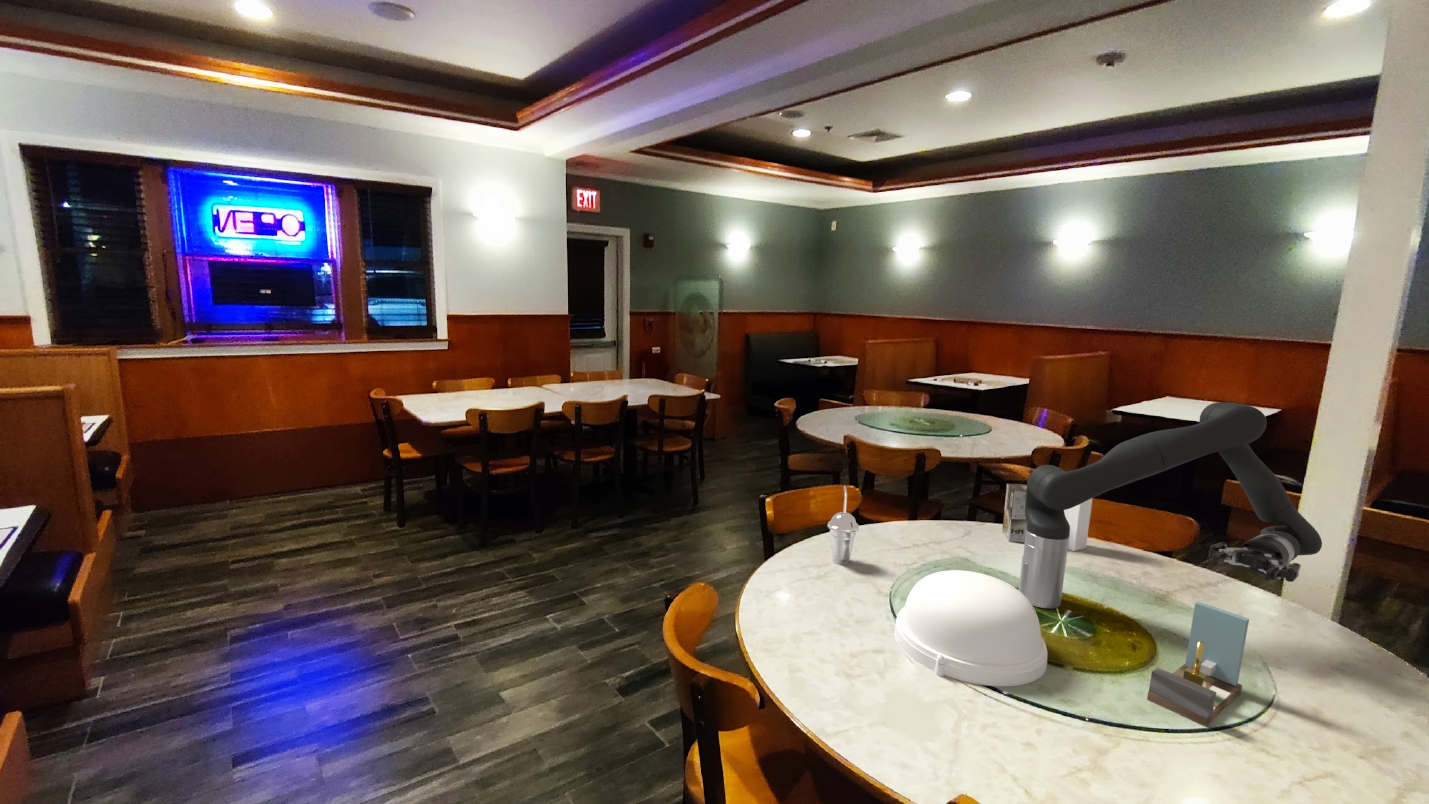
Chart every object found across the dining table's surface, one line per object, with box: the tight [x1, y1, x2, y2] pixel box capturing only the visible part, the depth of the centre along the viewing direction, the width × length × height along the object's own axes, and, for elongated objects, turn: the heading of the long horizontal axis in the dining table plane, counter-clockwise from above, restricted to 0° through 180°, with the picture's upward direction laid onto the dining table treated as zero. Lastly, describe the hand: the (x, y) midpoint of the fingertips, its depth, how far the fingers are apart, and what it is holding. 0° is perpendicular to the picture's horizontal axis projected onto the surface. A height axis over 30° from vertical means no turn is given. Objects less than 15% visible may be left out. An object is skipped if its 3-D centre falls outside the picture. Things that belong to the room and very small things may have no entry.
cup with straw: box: [826, 485, 860, 565], centre depth 175 cm, size 8×9×20 cm
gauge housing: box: [1146, 663, 1243, 727], centre depth 119 cm, size 18×9×6 cm, turn 125°
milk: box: [1064, 498, 1094, 552], centre depth 191 cm, size 6×6×22 cm
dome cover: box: [894, 569, 1049, 687], centre depth 134 cm, size 32×30×14 cm
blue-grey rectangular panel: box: [1184, 601, 1250, 685], centre depth 121 cm, size 4×8×13 cm, turn 35°
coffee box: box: [1001, 483, 1027, 544], centre depth 198 cm, size 9×6×16 cm
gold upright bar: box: [1183, 641, 1208, 687], centre depth 118 cm, size 2×3×8 cm, turn 35°
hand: (1241, 567), depth 131 cm, fingers open, 8 cm apart
